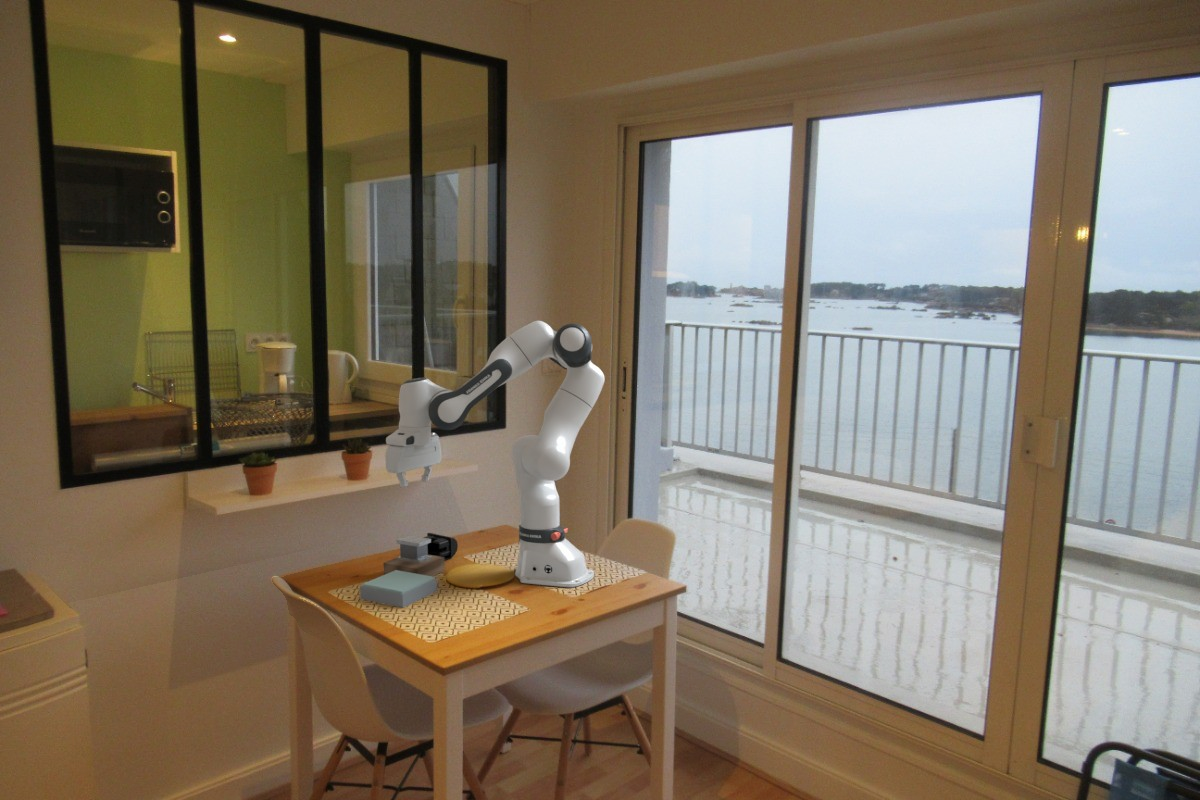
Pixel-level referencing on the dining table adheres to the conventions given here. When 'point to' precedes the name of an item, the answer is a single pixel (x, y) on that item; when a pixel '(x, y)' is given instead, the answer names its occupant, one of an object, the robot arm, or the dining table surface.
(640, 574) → the dining table surface
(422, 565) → the stand
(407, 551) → the block
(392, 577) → the stand
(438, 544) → the end cap
